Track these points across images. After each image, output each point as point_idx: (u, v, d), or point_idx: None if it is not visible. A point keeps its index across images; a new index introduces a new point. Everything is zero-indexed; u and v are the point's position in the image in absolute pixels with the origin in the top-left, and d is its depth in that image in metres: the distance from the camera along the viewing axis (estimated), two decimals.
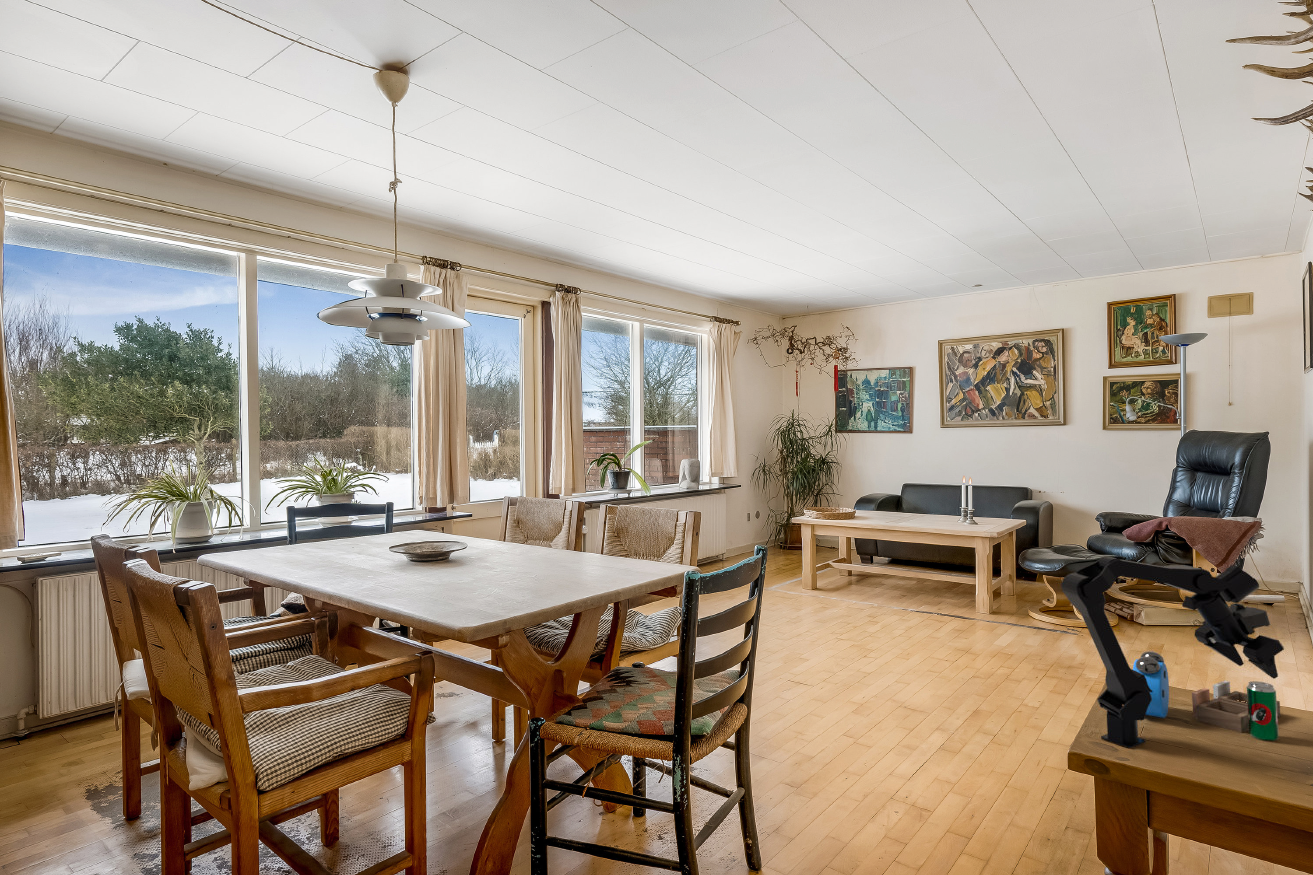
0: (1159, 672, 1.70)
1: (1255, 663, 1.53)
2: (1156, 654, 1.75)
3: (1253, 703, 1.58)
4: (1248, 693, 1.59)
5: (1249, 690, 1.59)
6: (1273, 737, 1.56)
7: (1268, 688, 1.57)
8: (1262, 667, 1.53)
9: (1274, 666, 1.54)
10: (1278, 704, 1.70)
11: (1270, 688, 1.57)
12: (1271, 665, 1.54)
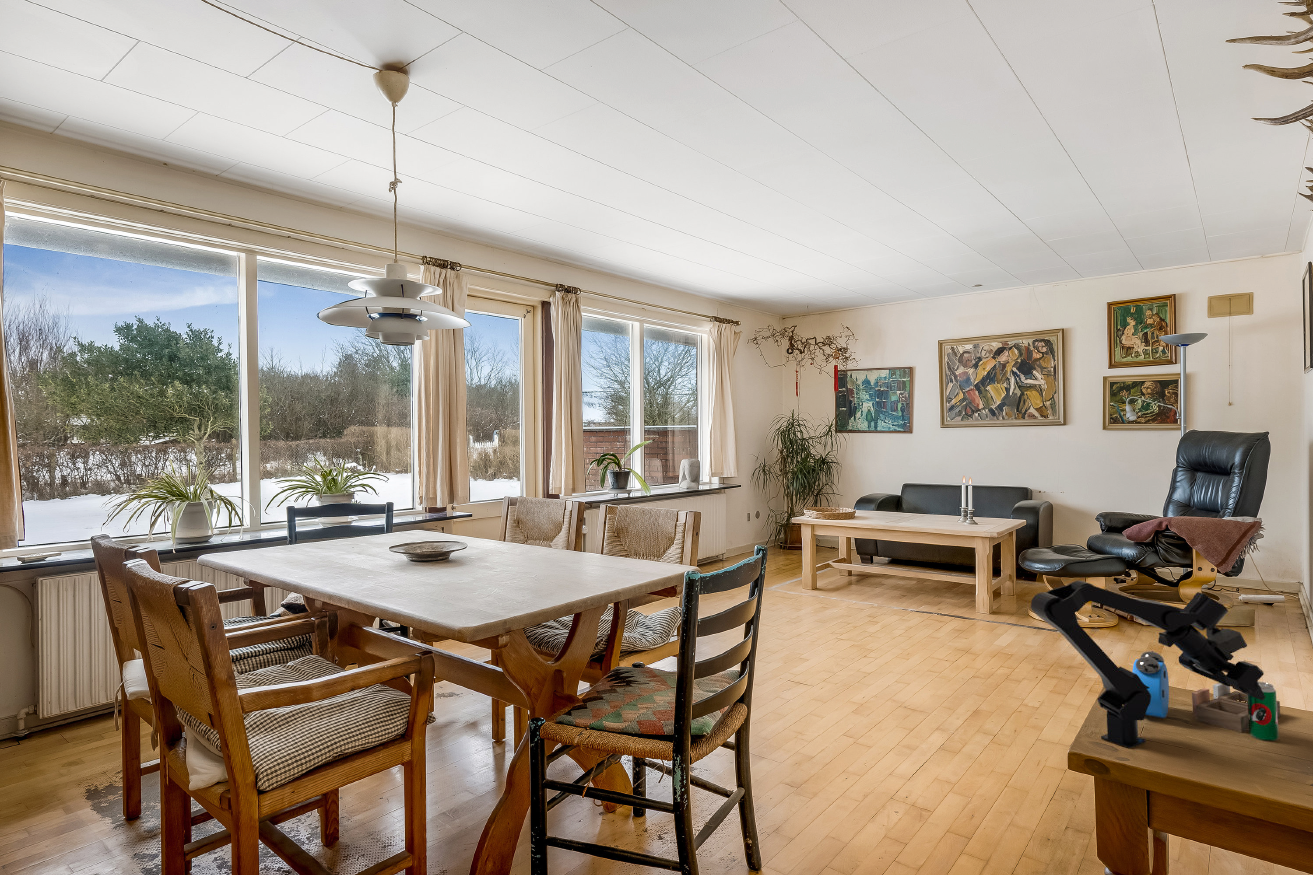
0: (1159, 672, 1.70)
1: (1240, 691, 1.52)
2: (1156, 654, 1.75)
3: (1253, 703, 1.58)
4: None
5: None
6: (1273, 737, 1.56)
7: (1268, 688, 1.57)
8: (1247, 693, 1.53)
9: (1259, 689, 1.53)
10: (1278, 704, 1.70)
11: (1270, 688, 1.57)
12: (1256, 689, 1.53)
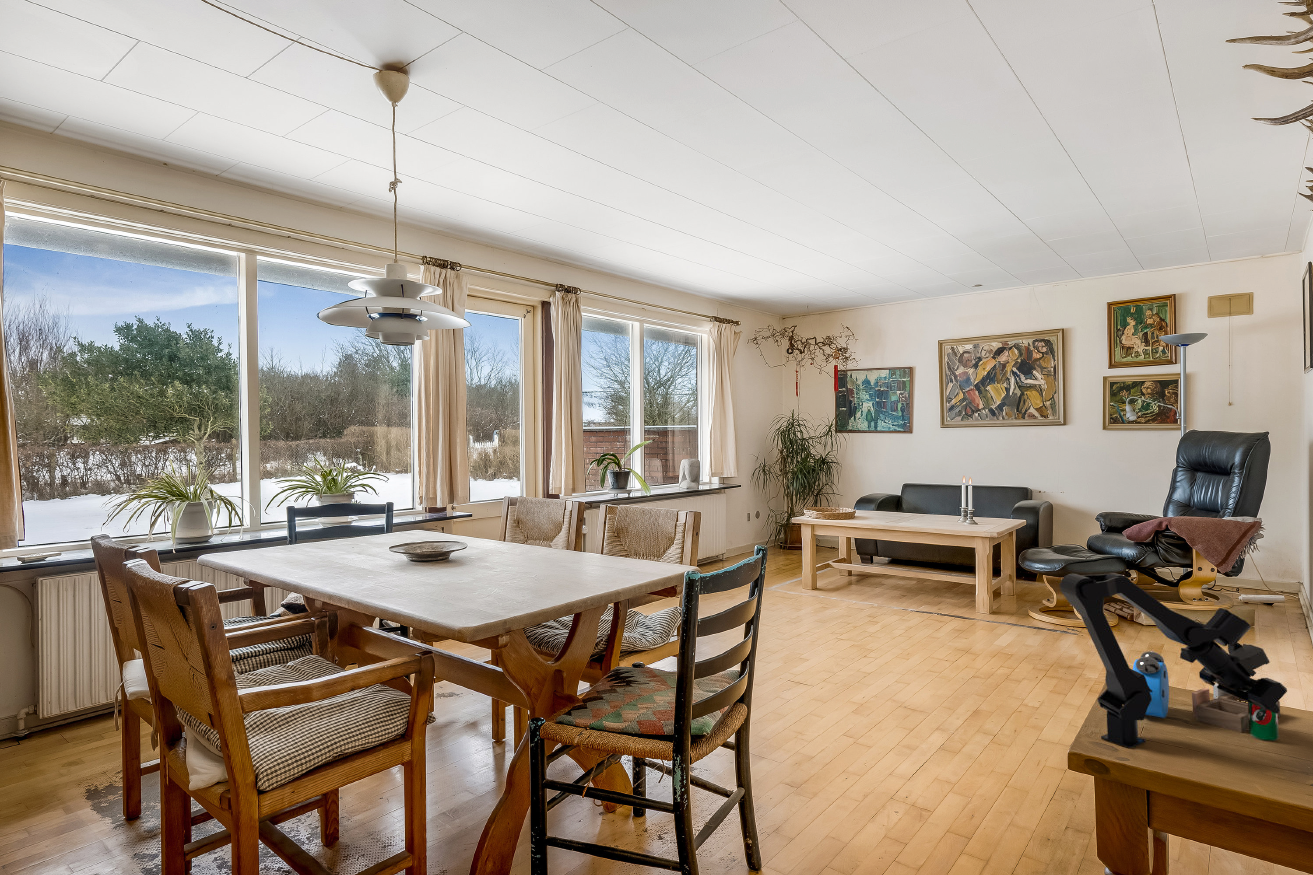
0: (1159, 672, 1.70)
1: (1255, 704, 1.54)
2: (1156, 654, 1.75)
3: None
4: None
5: (1249, 690, 1.59)
6: (1273, 737, 1.56)
7: None
8: None
9: None
10: (1278, 704, 1.70)
11: None
12: None
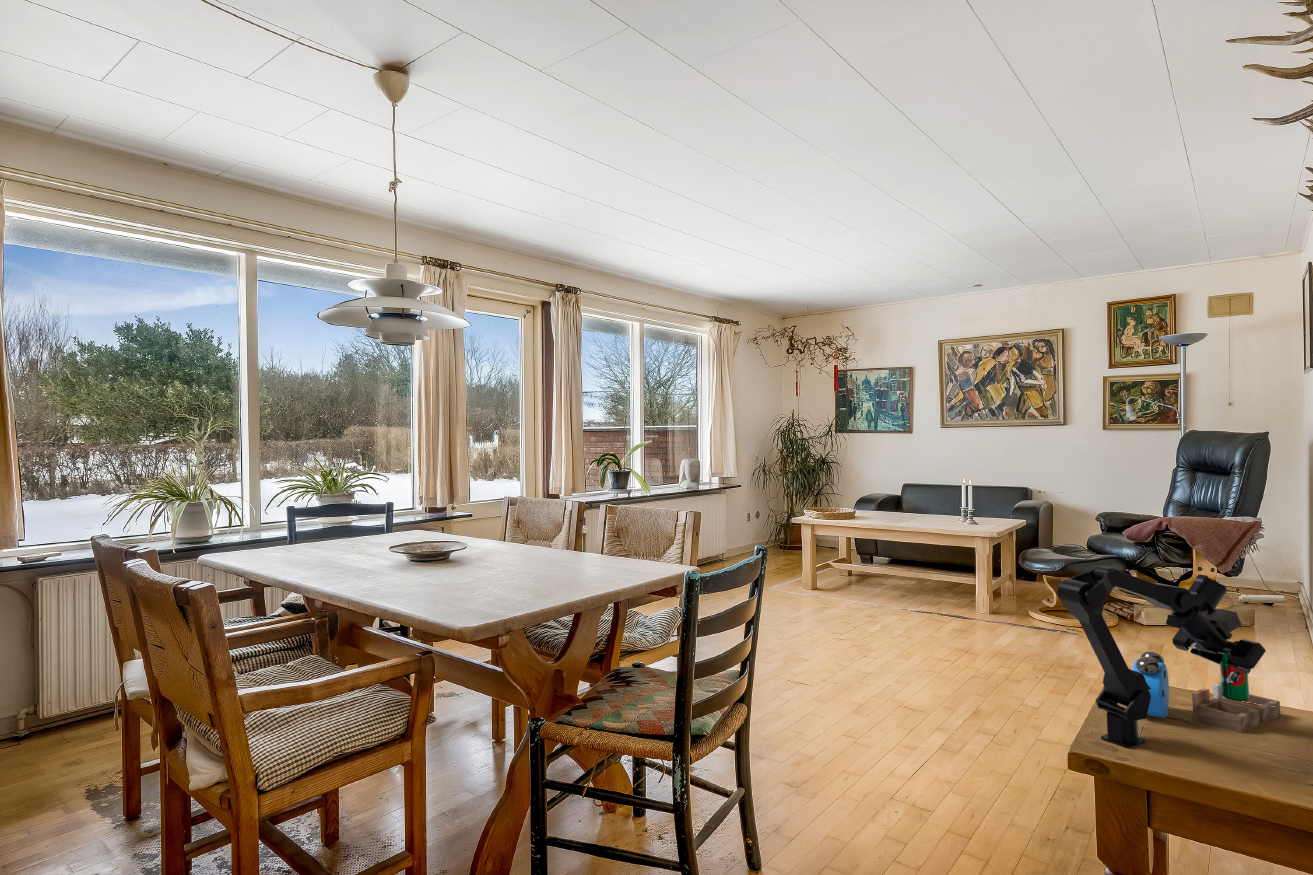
0: (1159, 672, 1.70)
1: (1234, 666, 1.60)
2: (1156, 654, 1.75)
3: (1227, 666, 1.65)
4: (1222, 656, 1.66)
5: (1223, 654, 1.66)
6: (1246, 697, 1.63)
7: None
8: (1239, 667, 1.61)
9: None
10: (1278, 704, 1.70)
11: None
12: None
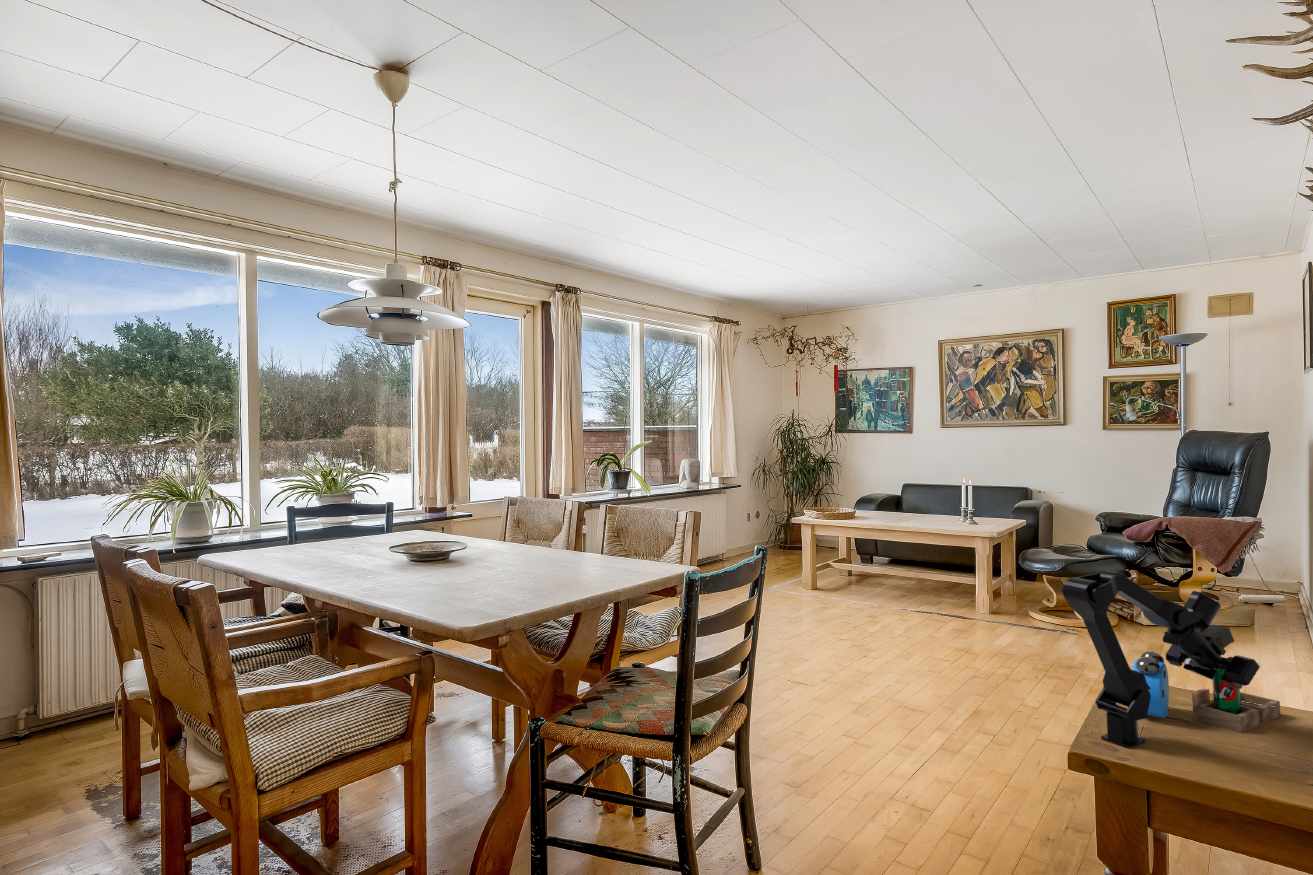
0: (1159, 672, 1.70)
1: (1228, 682, 1.62)
2: (1156, 654, 1.75)
3: (1220, 681, 1.66)
4: (1215, 672, 1.68)
5: None
6: (1238, 712, 1.65)
7: None
8: (1233, 683, 1.63)
9: None
10: (1278, 704, 1.70)
11: None
12: None
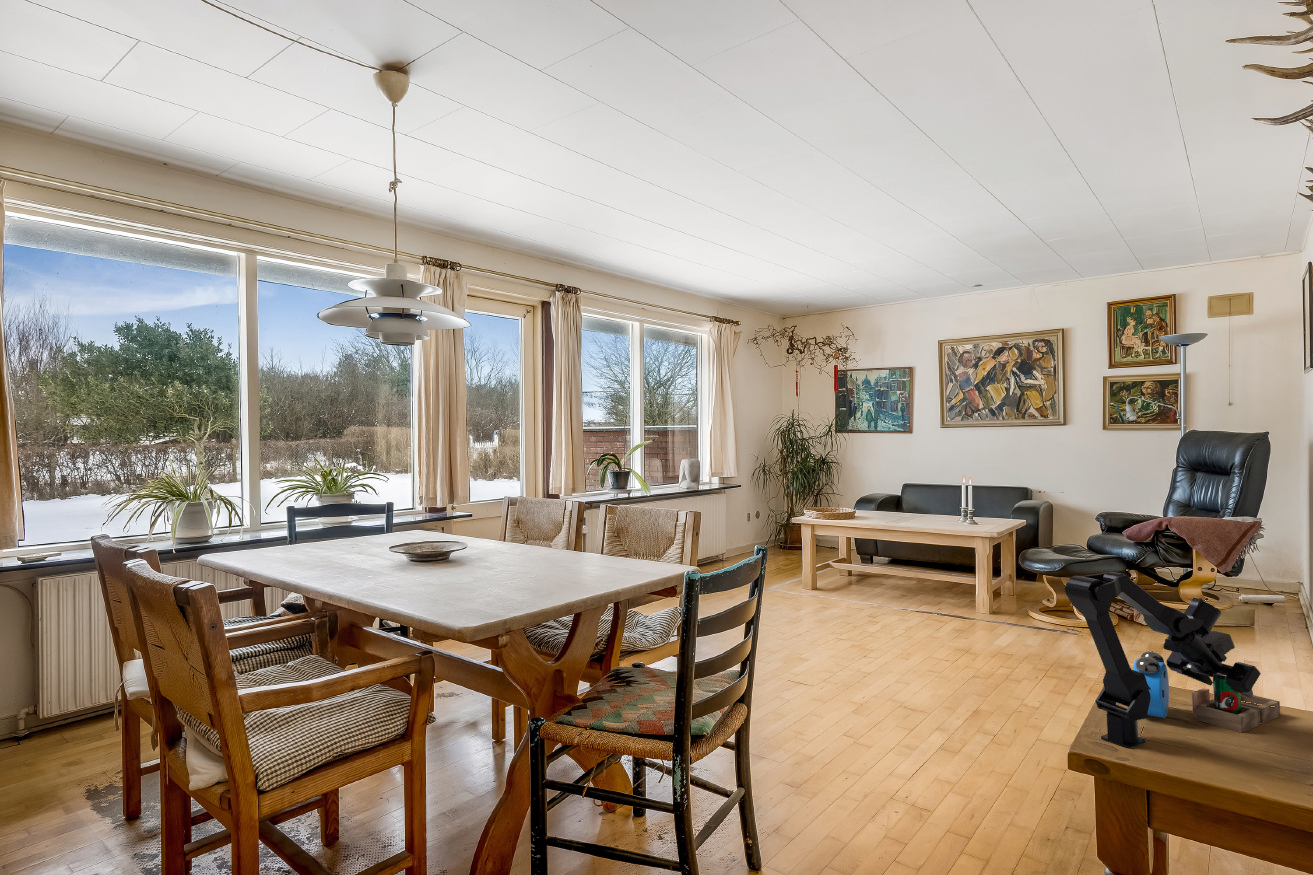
0: (1159, 672, 1.70)
1: (1239, 691, 1.60)
2: (1156, 654, 1.75)
3: (1222, 691, 1.66)
4: (1216, 682, 1.68)
5: (1217, 679, 1.67)
6: None
7: None
8: (1243, 692, 1.61)
9: None
10: (1278, 704, 1.70)
11: None
12: None
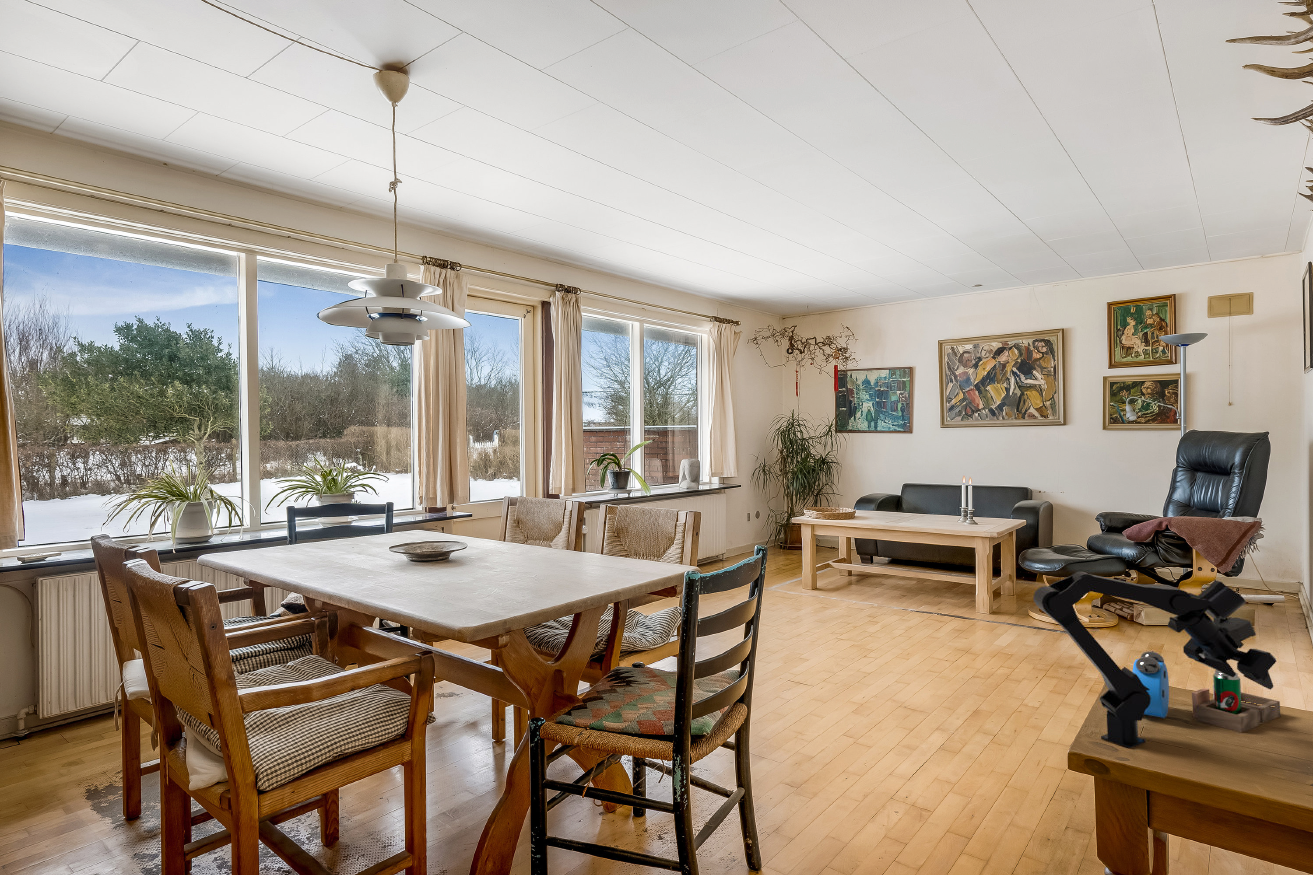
0: (1159, 672, 1.70)
1: (1251, 679, 1.50)
2: (1156, 654, 1.75)
3: (1222, 691, 1.66)
4: (1216, 682, 1.67)
5: (1218, 679, 1.67)
6: None
7: (1235, 676, 1.66)
8: (1258, 681, 1.51)
9: (1269, 677, 1.52)
10: (1278, 704, 1.70)
11: (1236, 675, 1.66)
12: (1266, 677, 1.52)
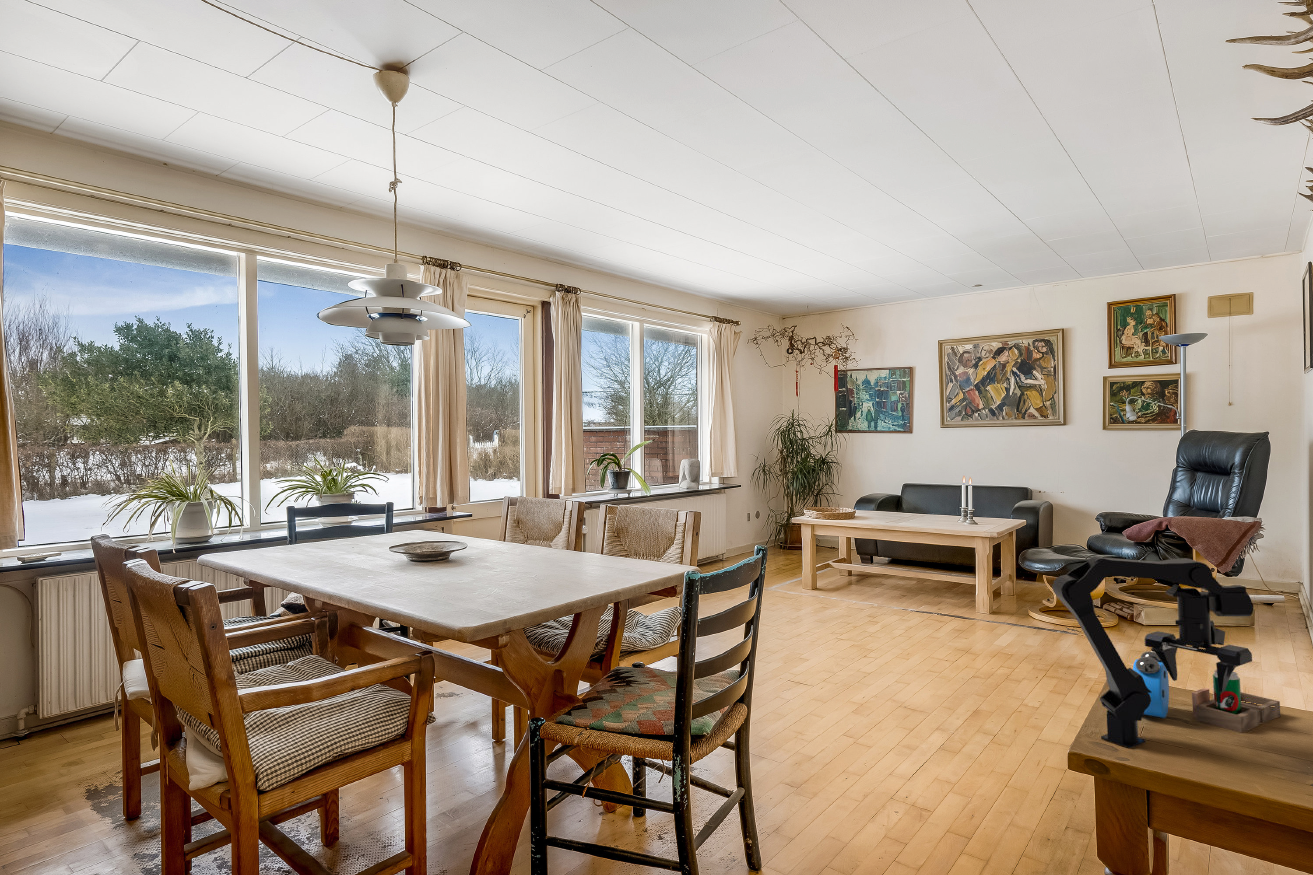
0: (1159, 672, 1.70)
1: (1225, 666, 1.49)
2: (1156, 654, 1.75)
3: None
4: (1216, 682, 1.67)
5: (1217, 679, 1.67)
6: None
7: (1235, 676, 1.66)
8: (1225, 674, 1.50)
9: (1228, 679, 1.52)
10: (1278, 704, 1.70)
11: (1236, 675, 1.66)
12: (1227, 677, 1.52)
